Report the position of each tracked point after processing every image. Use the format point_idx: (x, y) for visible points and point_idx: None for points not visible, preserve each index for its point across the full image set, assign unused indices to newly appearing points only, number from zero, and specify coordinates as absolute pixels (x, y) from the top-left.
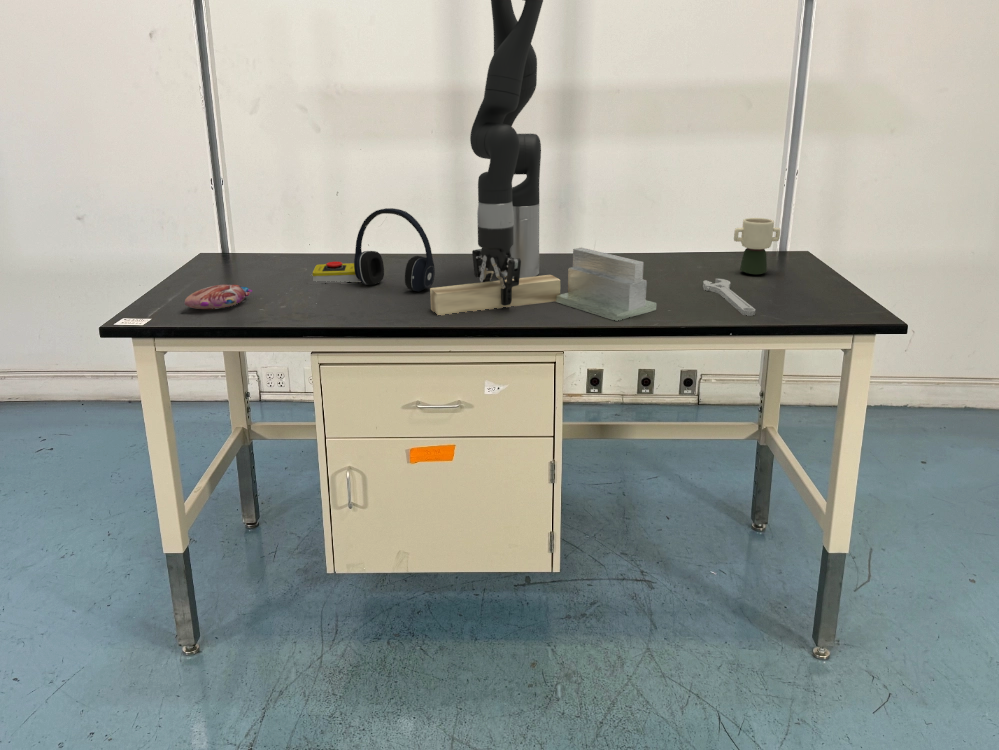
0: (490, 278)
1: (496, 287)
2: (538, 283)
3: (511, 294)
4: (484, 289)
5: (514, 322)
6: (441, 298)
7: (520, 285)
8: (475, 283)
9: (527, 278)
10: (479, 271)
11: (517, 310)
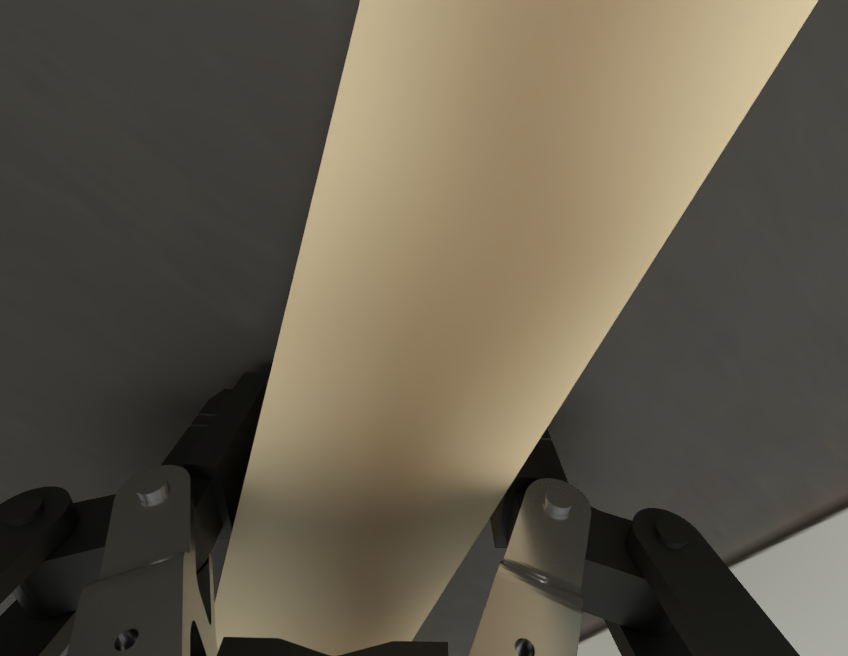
0: (195, 502)
1: (455, 566)
2: (725, 127)
3: (553, 449)
4: (417, 624)
5: (709, 511)
6: None
7: (572, 372)
8: (229, 602)
9: (426, 76)
10: (32, 606)
11: (583, 373)
